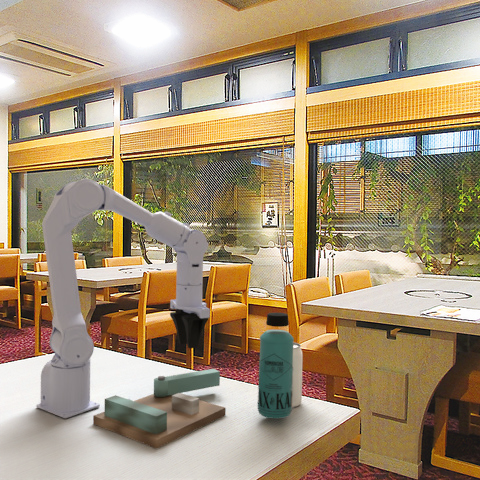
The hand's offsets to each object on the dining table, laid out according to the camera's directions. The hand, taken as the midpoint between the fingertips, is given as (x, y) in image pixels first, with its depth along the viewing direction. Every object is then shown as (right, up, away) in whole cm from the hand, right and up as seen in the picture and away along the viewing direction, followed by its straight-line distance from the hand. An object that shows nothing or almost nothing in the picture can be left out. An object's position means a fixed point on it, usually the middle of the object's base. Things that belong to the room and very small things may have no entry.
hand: (188, 345), depth 109 cm
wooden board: (-3, -10, -18) cm, 21 cm away
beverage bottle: (+18, -11, -17) cm, 27 cm away
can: (+21, -10, -8) cm, 24 cm away
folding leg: (0, -8, -6) cm, 10 cm away
